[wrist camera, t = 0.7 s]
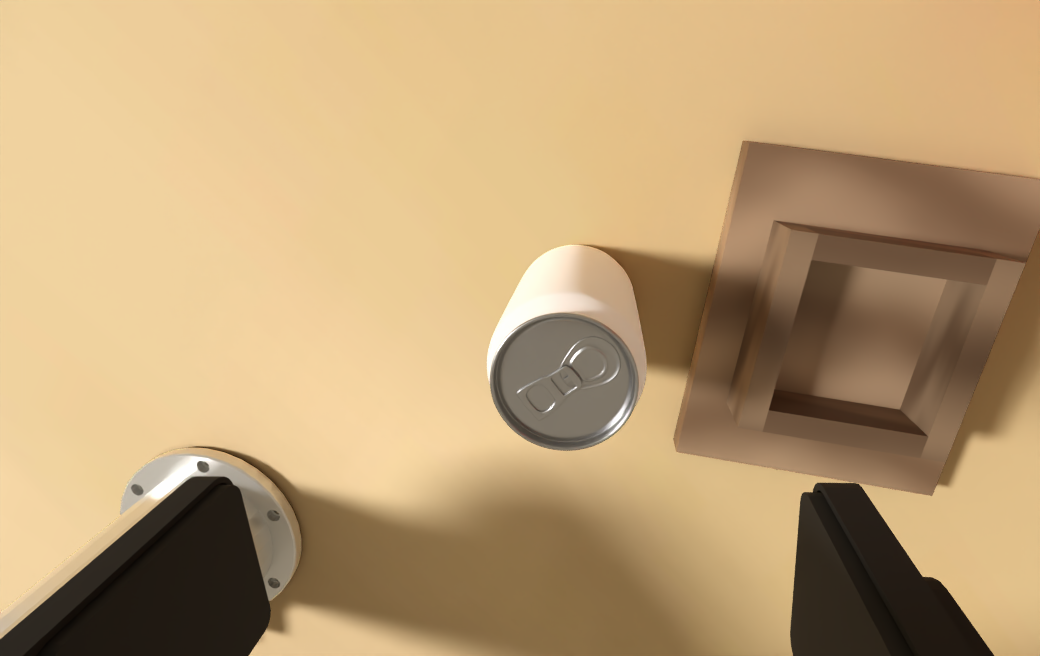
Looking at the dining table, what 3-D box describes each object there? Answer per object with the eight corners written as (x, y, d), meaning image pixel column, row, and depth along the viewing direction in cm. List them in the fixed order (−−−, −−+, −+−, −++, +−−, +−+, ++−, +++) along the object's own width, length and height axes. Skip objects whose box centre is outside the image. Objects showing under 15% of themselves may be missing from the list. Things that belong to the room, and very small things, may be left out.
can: (657, 311, 34) (686, 403, 23) (564, 374, 36) (547, 488, 24) (587, 218, 33) (580, 266, 21) (495, 288, 35) (444, 366, 23)
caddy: (918, 480, 35) (962, 529, 31) (673, 439, 36) (683, 480, 32) (1036, 179, 30) (1109, 188, 25) (743, 140, 31) (765, 142, 26)
